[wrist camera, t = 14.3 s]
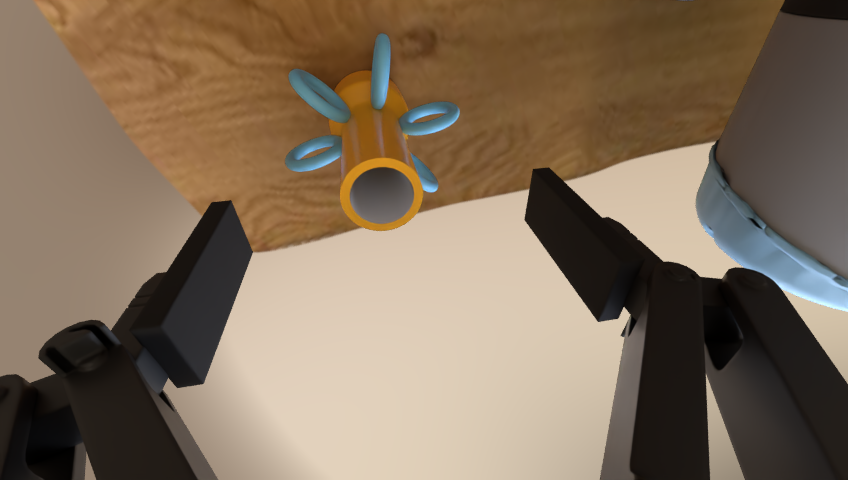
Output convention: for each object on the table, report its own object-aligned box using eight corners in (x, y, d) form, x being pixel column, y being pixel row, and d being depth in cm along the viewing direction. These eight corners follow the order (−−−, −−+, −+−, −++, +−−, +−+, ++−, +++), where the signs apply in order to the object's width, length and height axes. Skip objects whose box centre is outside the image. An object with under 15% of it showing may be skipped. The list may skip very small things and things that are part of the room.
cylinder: (462, 107, 30) (537, 188, 18) (386, 192, 34) (407, 306, 22) (343, -11, 24) (339, -5, 12) (265, 109, 27) (203, 205, 16)
